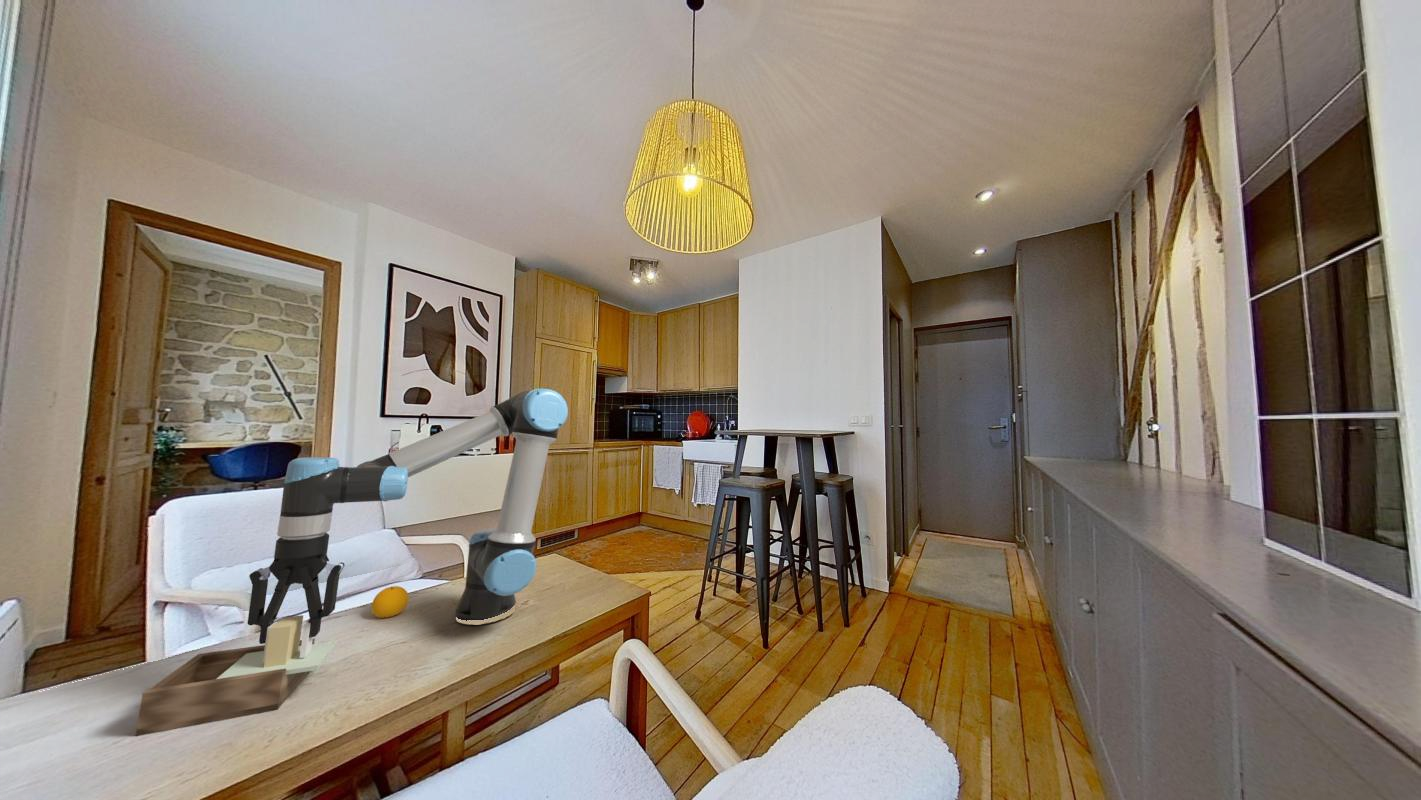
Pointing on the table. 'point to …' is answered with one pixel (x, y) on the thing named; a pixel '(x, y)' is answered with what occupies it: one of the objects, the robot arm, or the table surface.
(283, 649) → the lid
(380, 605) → the orange
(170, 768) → the table surface
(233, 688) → the case
